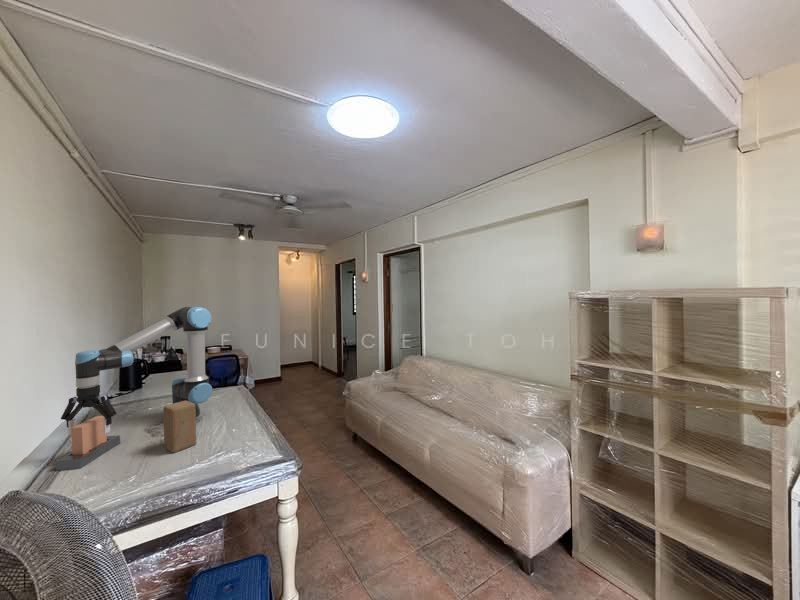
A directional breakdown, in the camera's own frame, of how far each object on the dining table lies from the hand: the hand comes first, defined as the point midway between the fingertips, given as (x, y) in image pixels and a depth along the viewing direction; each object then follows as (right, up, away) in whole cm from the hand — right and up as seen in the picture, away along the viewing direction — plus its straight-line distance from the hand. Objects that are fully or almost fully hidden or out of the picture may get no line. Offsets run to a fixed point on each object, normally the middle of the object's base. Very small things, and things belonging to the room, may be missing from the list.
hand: (89, 433), depth 140 cm
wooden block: (+35, -10, +8) cm, 37 cm away
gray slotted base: (0, -10, 0) cm, 10 cm away
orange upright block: (0, -9, 0) cm, 9 cm away
